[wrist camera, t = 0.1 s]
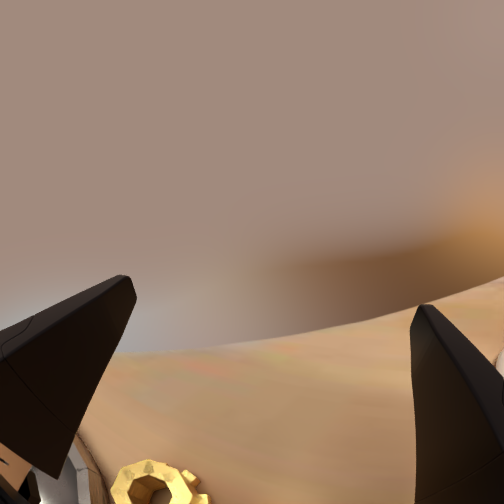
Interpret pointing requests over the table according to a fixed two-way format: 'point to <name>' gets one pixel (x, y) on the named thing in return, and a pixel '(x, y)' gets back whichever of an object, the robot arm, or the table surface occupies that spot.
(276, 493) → the table surface
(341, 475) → the table surface
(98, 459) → the table surface
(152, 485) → the planet gear
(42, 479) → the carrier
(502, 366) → the flower in vase
